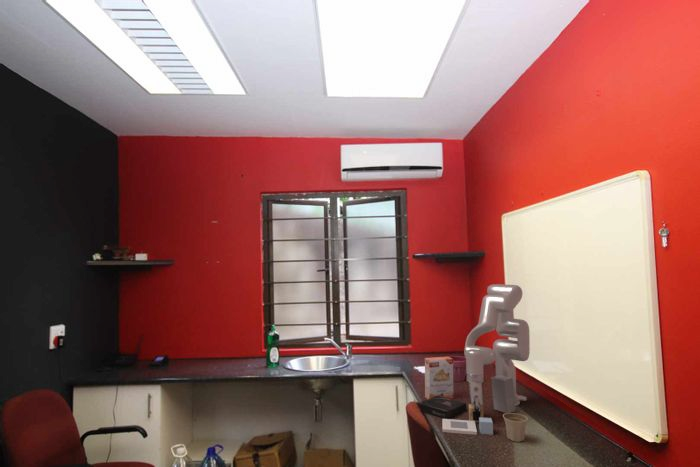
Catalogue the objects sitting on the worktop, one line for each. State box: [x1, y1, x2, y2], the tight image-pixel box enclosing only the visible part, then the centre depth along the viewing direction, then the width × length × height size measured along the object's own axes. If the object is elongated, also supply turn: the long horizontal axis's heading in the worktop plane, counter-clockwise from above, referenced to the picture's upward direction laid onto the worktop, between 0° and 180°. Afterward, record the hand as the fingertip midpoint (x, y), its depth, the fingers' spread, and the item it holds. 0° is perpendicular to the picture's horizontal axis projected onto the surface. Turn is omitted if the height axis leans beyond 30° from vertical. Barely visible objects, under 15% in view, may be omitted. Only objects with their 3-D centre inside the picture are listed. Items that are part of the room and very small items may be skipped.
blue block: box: [478, 417, 494, 436], centre depth 175 cm, size 5×5×5 cm
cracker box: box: [424, 356, 454, 400], centre depth 219 cm, size 14×6×21 cm, turn 105°
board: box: [441, 418, 478, 436], centre depth 180 cm, size 14×12×1 cm
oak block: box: [468, 403, 485, 424], centre depth 189 cm, size 6×6×6 cm
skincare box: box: [490, 375, 517, 414], centre depth 201 cm, size 8×7×16 cm
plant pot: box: [446, 355, 466, 383], centre depth 254 cm, size 14×14×13 cm
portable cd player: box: [417, 396, 468, 420], centre depth 201 cm, size 16×17×4 cm
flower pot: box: [502, 412, 528, 443], centre depth 168 cm, size 9×9×9 cm
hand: (475, 416), depth 189 cm, fingers open, 8 cm apart
